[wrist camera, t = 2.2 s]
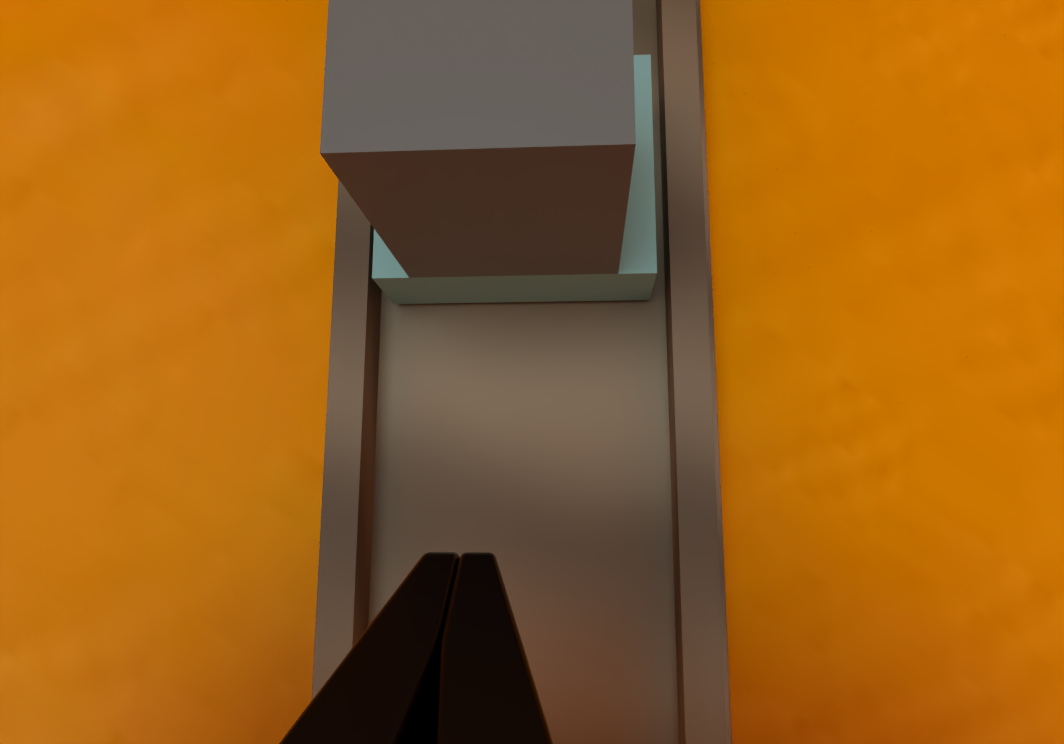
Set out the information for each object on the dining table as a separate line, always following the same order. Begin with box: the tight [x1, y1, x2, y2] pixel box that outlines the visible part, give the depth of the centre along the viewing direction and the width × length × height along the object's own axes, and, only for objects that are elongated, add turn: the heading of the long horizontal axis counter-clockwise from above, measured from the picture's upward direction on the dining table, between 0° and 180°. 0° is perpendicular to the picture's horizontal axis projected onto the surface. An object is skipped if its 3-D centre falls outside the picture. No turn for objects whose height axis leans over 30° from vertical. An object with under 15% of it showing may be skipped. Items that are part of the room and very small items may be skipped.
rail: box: [312, 0, 732, 744], centre depth 17 cm, size 26×9×6 cm, turn 0°
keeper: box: [320, 0, 657, 304], centre depth 15 cm, size 5×6×8 cm
